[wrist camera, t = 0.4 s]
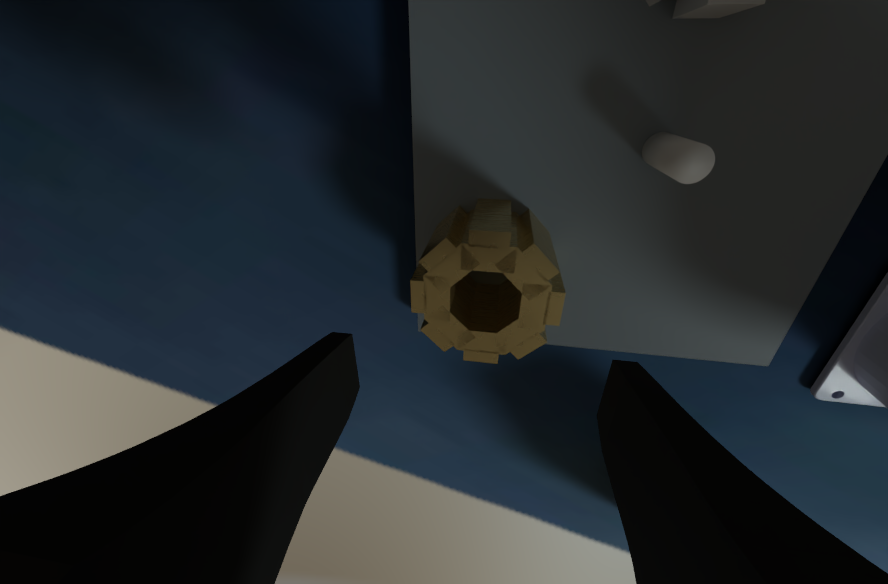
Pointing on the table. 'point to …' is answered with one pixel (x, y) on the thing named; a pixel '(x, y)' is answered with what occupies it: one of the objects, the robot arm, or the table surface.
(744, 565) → the robot arm
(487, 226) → the brass gear
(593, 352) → the table surface
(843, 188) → the gear board
